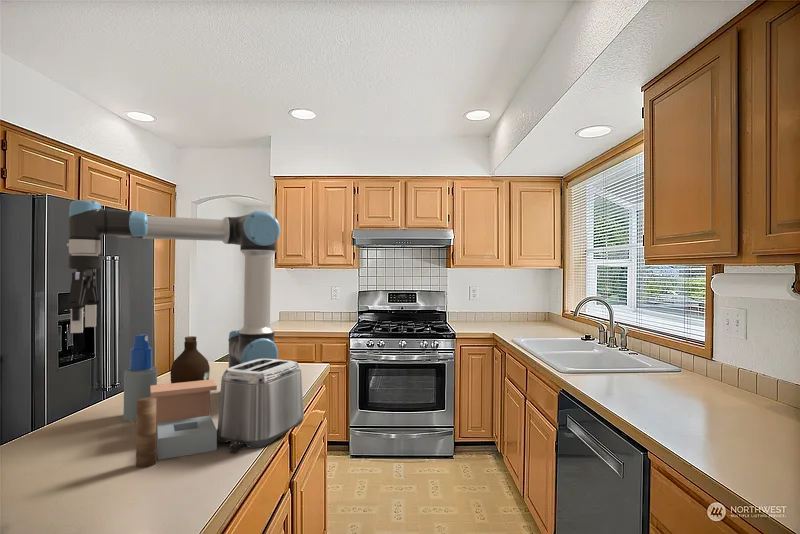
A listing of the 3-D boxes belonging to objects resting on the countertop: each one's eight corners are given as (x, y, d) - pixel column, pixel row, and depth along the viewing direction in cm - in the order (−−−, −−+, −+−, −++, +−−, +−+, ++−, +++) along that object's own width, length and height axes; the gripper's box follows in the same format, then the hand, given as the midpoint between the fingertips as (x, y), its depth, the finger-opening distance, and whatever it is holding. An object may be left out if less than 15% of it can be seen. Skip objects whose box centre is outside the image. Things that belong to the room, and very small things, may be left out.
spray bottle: (163, 412, 147) (164, 332, 147) (142, 421, 138) (143, 337, 138) (138, 410, 148) (139, 332, 149) (116, 419, 140) (117, 335, 140)
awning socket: (212, 424, 136) (212, 379, 136) (222, 449, 118) (223, 396, 118) (150, 433, 128) (150, 385, 128) (150, 461, 110) (151, 404, 110)
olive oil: (167, 429, 132) (168, 340, 132) (172, 417, 142) (172, 335, 142) (208, 425, 135) (209, 338, 136) (209, 414, 145) (210, 333, 146)
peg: (155, 459, 111) (156, 396, 111) (155, 465, 107) (156, 400, 107) (136, 462, 109) (136, 398, 109) (135, 469, 105) (136, 402, 106)
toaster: (313, 421, 140) (314, 357, 140) (252, 458, 112) (252, 379, 112) (266, 415, 145) (266, 353, 145) (196, 449, 118) (196, 373, 118)
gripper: (82, 255, 144) (81, 325, 144) (53, 253, 120) (52, 336, 120) (110, 256, 146) (109, 324, 146) (87, 254, 123) (86, 335, 123)
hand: (84, 329), depth 133 cm, fingers open, 13 cm apart
